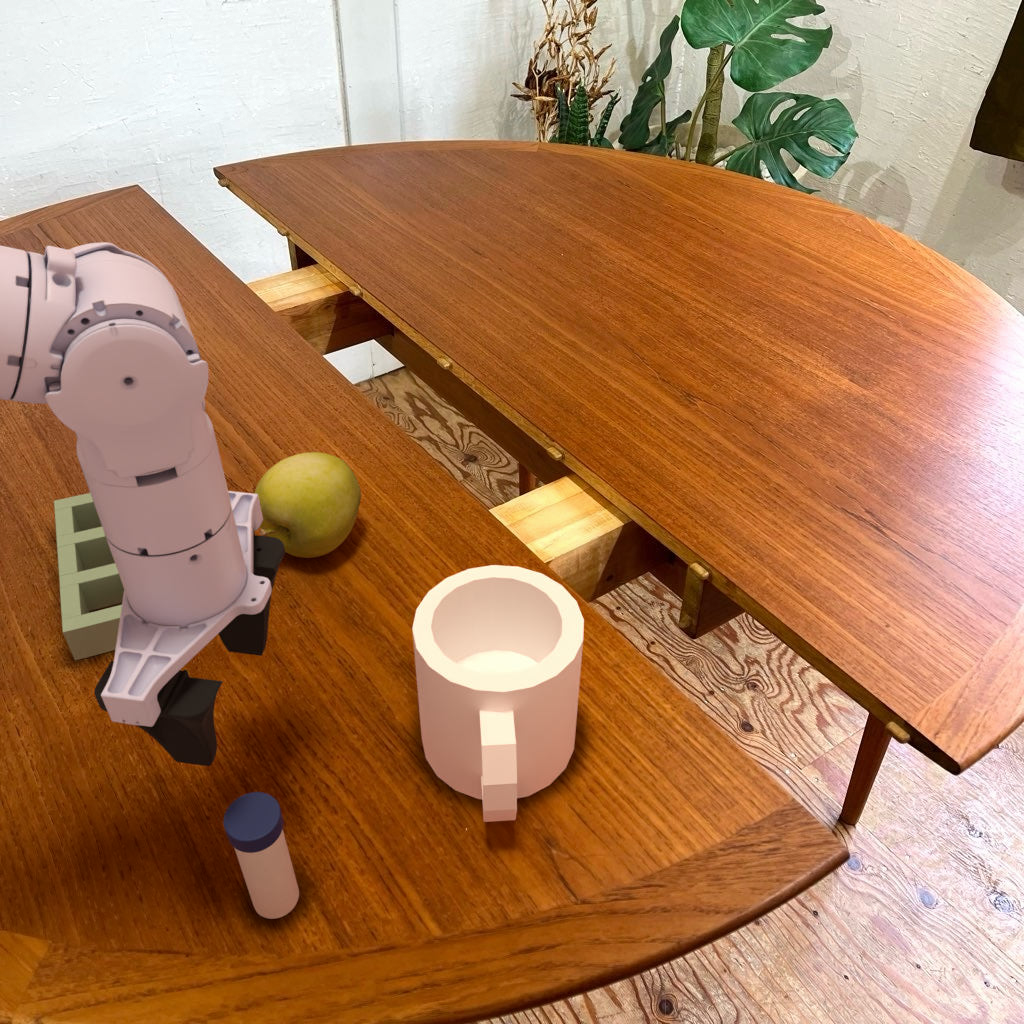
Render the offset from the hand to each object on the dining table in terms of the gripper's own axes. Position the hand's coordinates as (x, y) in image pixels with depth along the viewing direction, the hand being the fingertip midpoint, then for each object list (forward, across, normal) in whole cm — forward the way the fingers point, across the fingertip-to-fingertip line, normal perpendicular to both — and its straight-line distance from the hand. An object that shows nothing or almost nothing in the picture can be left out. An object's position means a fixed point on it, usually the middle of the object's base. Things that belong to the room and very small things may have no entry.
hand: (222, 701), depth 53 cm
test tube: (+10, -6, -4) cm, 12 cm away
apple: (+10, +24, +4) cm, 26 cm away
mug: (+10, +6, -14) cm, 19 cm away
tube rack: (+10, +17, +18) cm, 27 cm away
